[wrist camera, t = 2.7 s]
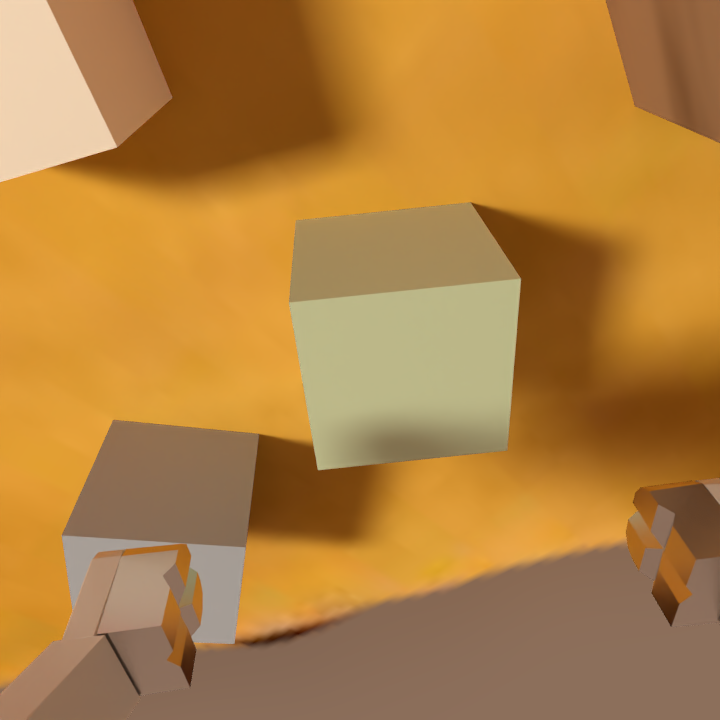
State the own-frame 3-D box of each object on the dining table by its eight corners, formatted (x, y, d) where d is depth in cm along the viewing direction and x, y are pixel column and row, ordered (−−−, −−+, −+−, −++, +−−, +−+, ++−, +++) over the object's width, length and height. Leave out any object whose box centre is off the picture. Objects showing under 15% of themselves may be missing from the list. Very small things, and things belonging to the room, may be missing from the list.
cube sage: (469, 201, 17) (521, 278, 12) (466, 348, 19) (506, 450, 15) (295, 219, 17) (288, 302, 12) (317, 363, 19) (317, 470, 15)
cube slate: (259, 432, 21) (245, 547, 17) (248, 525, 24) (234, 643, 19) (113, 418, 20) (62, 535, 16) (119, 516, 23) (76, 637, 19)
